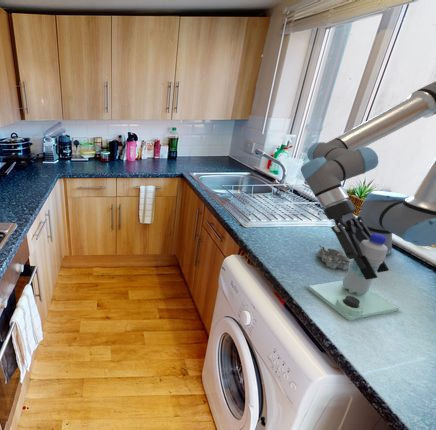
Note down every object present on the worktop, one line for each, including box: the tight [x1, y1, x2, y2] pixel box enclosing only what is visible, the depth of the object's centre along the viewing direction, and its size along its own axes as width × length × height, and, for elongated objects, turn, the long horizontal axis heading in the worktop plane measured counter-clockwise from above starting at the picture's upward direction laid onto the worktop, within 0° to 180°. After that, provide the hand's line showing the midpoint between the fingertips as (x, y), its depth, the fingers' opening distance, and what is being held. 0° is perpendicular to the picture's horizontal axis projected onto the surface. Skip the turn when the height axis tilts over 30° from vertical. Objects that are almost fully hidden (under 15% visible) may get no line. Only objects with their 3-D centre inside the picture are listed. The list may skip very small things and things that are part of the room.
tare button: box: [344, 296, 360, 308], centre depth 81 cm, size 3×3×2 cm
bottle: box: [342, 234, 388, 295], centre depth 85 cm, size 7×7×20 cm
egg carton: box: [317, 244, 353, 271], centre depth 106 cm, size 11×8×4 cm
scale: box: [307, 279, 400, 321], centre depth 87 cm, size 18×14×3 cm
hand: (377, 274), depth 83 cm, fingers closed on bottle, 7 cm apart
